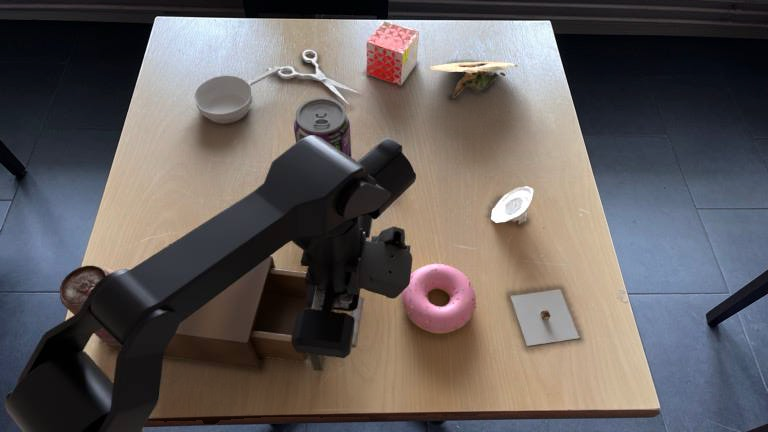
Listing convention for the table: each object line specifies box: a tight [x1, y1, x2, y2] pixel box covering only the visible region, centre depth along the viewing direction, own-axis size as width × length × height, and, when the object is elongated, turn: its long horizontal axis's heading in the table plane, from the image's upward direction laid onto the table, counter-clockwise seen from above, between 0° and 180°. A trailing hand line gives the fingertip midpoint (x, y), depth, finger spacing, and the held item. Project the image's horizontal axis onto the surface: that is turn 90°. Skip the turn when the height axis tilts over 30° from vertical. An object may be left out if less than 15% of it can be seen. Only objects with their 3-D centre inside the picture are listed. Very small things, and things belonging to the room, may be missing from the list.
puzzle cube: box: [366, 20, 420, 87], centre depth 106 cm, size 8×8×8 cm
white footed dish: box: [490, 185, 534, 225], centre depth 86 cm, size 8×5×8 cm
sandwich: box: [429, 61, 518, 99], centre depth 105 cm, size 18×14×8 cm
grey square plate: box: [510, 289, 580, 347], centre depth 77 cm, size 8×8×2 cm
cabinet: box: [163, 243, 277, 370], centre depth 72 cm, size 15×13×10 cm
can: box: [59, 265, 122, 350], centre depth 69 cm, size 6×6×14 cm
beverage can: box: [293, 96, 352, 158], centre depth 86 cm, size 9×9×15 cm
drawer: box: [250, 268, 365, 372], centre depth 71 cm, size 18×11×8 cm, turn 83°
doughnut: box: [401, 262, 477, 334], centre depth 77 cm, size 11×11×4 cm
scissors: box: [267, 49, 362, 105], centre depth 106 cm, size 11×1×20 cm
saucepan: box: [193, 65, 281, 124], centre depth 101 cm, size 11×18×4 cm, turn 129°
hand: (338, 305), depth 66 cm, fingers closed
